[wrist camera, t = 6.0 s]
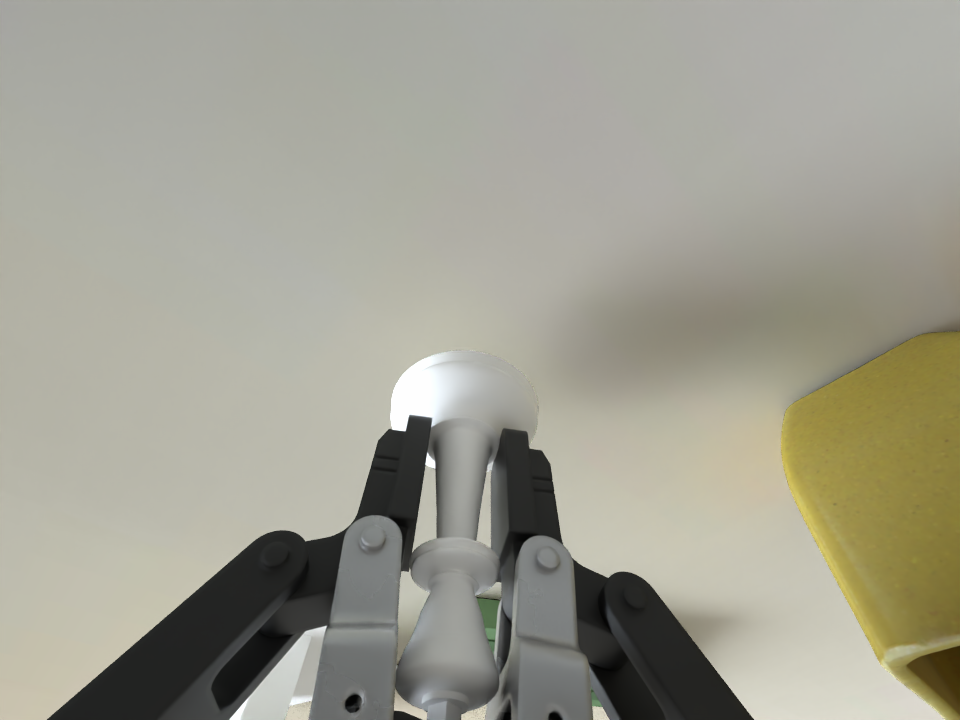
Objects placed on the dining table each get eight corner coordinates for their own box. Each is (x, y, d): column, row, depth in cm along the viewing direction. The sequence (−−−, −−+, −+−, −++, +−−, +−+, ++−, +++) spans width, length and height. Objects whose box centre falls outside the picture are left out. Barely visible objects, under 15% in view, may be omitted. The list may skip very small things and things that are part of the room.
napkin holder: (269, 711, 37) (235, 808, 32) (150, 655, 31) (89, 760, 27) (416, 676, 32) (401, 783, 27) (304, 603, 27) (263, 720, 22)
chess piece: (480, 321, 13) (464, 775, 5) (565, 422, 15) (655, 853, 7) (361, 397, 15) (200, 827, 7) (453, 478, 17) (420, 877, 9)
